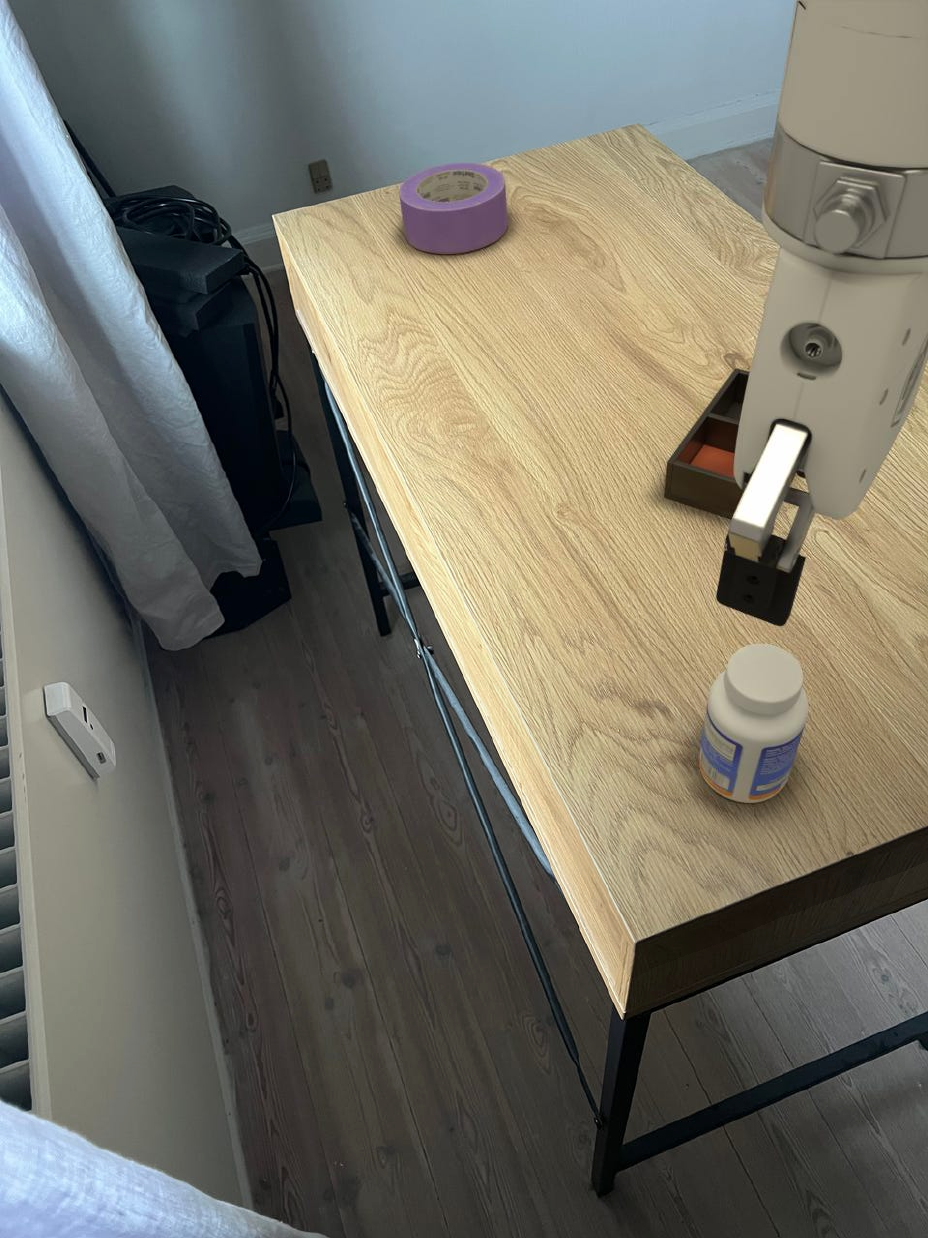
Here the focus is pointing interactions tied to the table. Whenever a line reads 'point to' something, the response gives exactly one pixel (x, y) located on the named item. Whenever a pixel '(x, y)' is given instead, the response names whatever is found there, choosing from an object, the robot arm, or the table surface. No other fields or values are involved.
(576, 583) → the table surface
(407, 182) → the tape roll
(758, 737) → the pill bottle
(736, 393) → the brown wooden tray
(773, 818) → the table surface
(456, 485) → the table surface
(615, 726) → the table surface
